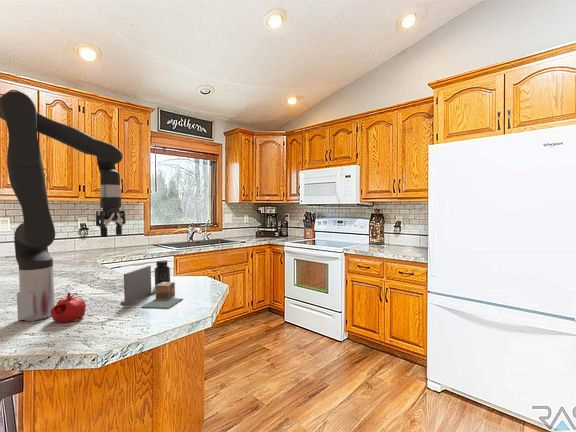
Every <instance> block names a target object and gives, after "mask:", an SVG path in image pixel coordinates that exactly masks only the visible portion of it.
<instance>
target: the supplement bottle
mask: <svg viewBox="0 0 576 432" xmlns="http://www.w3.org/2000/svg"><path fill="white" fill-rule="evenodd" d="M155 265H156V267H155V268H154V270H153V271H154V274H153V275H154V287H155V288H156V286H155V285H157V284H159V283H161V282H171V268H170V267H169V266H168V260H164V259H163V260H157V261H156V264H155Z"/></svg>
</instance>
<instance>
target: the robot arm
mask: <svg viewBox="0 0 576 432" xmlns="http://www.w3.org/2000/svg"><path fill="white" fill-rule="evenodd" d="M0 119H2V120H3V121H5V123H6V127H7V132H8V144H7V145H8V146H7V152H6V154H7V155H6V166H7V174H8V179H9V184H10V186H11V189H12V191H13V193H14V195H15V197H16V199H17V200H18V202H19V205H20V207H21V211H22V218H23V222H22V223H21V224H19V225H18V226H17V227H16V229H15V231H14V237H13V242H14V254H15V259H16V263H17V264H18V266H17V267H18V284H19V291H18V292H17V293H16V304H17V306H16V308H17V321H18V320H25V321H24V322H36V321H39V319H40V320H44V319H47V317H48V318H51V317H52V316H51V313H50V312H51V309H52V308H53V307H55V306H56V305H55V281H54V280H55V279H54V259H53V257H52V255H50V252H49V248H48V247H50V246H51V245H52V244H53V243H54V241H55V239H56V229H55V224H54V222H53V219H52V215H51V211H50V208H49V207H50V206H49V201H48V192H47V185H46V184H47V183H46V175H45V171H44V170H45V169H44V164H43V158H42V153H41V147H40V144H39V138H38V134H41V135H43V136H47V137H49V138H51V139H53V140H55V141H58V142H60V143H62V144H64V145H66V146H68V147H70V148H72V149H74V150H77V151H79V152H81V153H83V154H85V155H90V156H91V155H92V156H94V157H96V162H97V168H98V171H99V175H100V176H99V179H100V181H99V182H100V185H99V186H100V187H99V203H100V208H101V209H102V210H96V213H95V226H96V227H99V229H100V236H101V237H102V238H107V237H108V225H109V224H110V223H111V222H113V223H114V225H115V235H116V236H122V234H123V225H126V223H127V222H126V211H125V210H123V209H121V210H120V208H122V188H121V174H120V172H119V171H117V170H116V164H119V163H120V162H121V161H122V160H123V153H122V151H121V150H120V149H119V148H118V147H117V146H115V145H113V144H110V143H108V142H106V141H103V140H100V139H96V138H94V137H93V136H91V135H89V134H87V133H85V132H84V131H81V130H80V129H78V128H75V127H72V126H69V125H67V124H64V123H62V122H58V121H55V120H53V119H51V118H49V117H46V116H45V115H43V114H41V113H39V112H37V107H36V104H35V102H34V101H33V100H32V98H31V97H30V96H29V95H27V94H25V93H24V92H22V91H18V90H11V91H8V92H6V93H4V94H2V95H1V96H0ZM43 318H44V319H43ZM35 320H36V321H35Z"/></svg>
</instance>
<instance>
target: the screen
mask: <svg viewBox="0 0 576 432" xmlns="http://www.w3.org/2000/svg"><path fill="white" fill-rule="evenodd" d="M151 267H152V266H151V265H146V266H143V267H141V268H136V269H134V270H132V271H128V272H126V273H123V291H124V292H123V293H124V299H123V300H122V301H120V305H125V306H129V305H130V306H133V305H135V304H137V301H138V300H140V299H142V298H144V297H147V296H153V295H154V294H155V295H156V290H152V271H151V270H152V268H151Z"/></svg>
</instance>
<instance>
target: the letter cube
mask: <svg viewBox="0 0 576 432" xmlns="http://www.w3.org/2000/svg"><path fill="white" fill-rule="evenodd" d="M155 286H156V287H155ZM154 287H155V299H156V298H173V297H174V296H175V295H176V283H175V282H174V281H170V282H161V283H159V284H157V285H155V284H154Z"/></svg>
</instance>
